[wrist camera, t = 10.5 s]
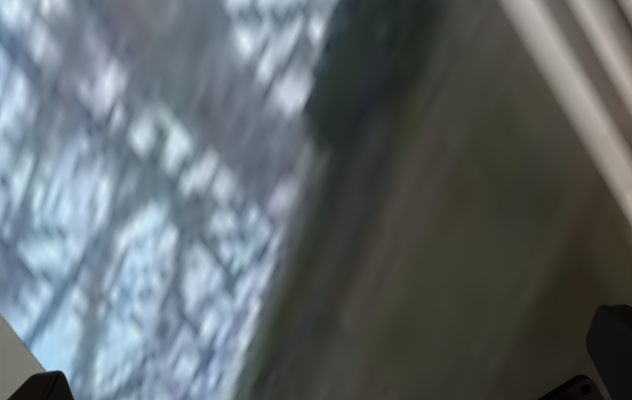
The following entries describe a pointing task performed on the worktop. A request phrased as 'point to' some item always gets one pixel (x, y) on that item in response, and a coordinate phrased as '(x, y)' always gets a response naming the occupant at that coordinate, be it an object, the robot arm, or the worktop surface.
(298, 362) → the worktop surface
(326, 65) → the worktop surface
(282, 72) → the worktop surface
